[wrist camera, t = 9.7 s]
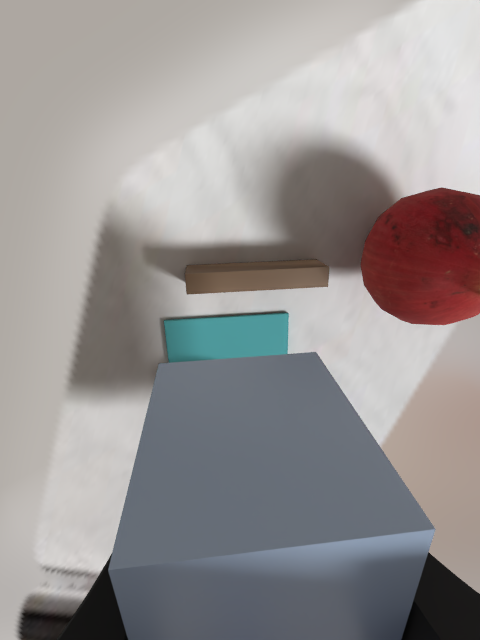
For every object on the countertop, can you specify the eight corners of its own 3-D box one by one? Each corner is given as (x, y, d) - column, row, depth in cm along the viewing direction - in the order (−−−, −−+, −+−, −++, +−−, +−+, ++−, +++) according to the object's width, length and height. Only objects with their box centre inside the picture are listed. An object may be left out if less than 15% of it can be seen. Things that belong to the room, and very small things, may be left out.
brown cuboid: (315, 277, 18) (328, 286, 16) (188, 283, 18) (186, 294, 16) (316, 259, 18) (329, 266, 16) (187, 265, 17) (184, 274, 15)
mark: (284, 413, 21) (285, 415, 21) (176, 422, 21) (176, 425, 20) (287, 312, 19) (288, 313, 19) (164, 320, 18) (163, 321, 18)
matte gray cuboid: (303, 521, 15) (369, 743, 9) (182, 536, 15) (168, 780, 9) (316, 352, 12) (435, 529, 6) (159, 363, 11) (107, 570, 5)
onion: (328, 208, 17) (425, 220, 9) (434, 175, 17) (616, 161, 9) (345, 309, 19) (435, 382, 12) (439, 280, 19) (590, 335, 12)
